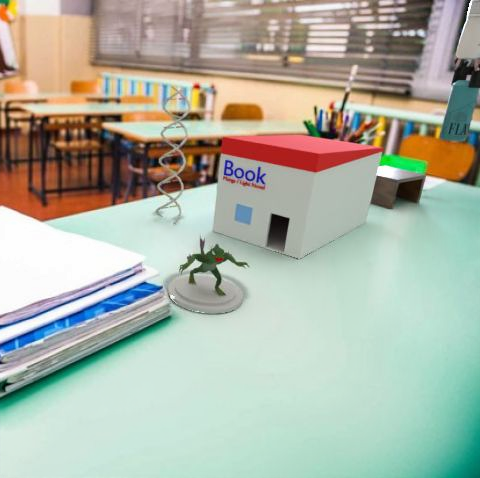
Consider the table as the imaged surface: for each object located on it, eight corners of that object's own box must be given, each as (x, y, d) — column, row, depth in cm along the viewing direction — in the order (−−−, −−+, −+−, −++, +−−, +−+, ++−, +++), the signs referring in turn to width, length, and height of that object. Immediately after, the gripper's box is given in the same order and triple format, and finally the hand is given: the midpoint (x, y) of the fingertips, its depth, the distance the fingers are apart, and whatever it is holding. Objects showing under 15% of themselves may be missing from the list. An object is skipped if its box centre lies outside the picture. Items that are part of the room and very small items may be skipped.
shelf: (419, 202, 137) (426, 174, 134) (390, 209, 130) (397, 179, 128) (378, 192, 147) (385, 165, 144) (349, 197, 140) (355, 169, 137)
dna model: (186, 224, 113) (198, 88, 102) (161, 226, 111) (171, 88, 100) (173, 215, 119) (183, 85, 108) (149, 217, 117) (157, 85, 106)
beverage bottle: (441, 146, 130) (462, 66, 123) (432, 142, 136) (452, 65, 129) (469, 148, 129) (492, 67, 121) (459, 143, 135) (480, 66, 127)
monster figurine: (181, 317, 74) (187, 254, 70) (159, 281, 85) (163, 225, 81) (255, 311, 76) (264, 250, 72) (224, 277, 87) (231, 223, 83)
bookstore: (211, 231, 109) (221, 136, 102) (287, 202, 133) (300, 124, 125) (299, 260, 96) (318, 153, 88) (366, 222, 119) (386, 136, 111)
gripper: (527, 8, 112) (503, 89, 119) (479, 13, 128) (460, 85, 135) (494, 7, 113) (471, 88, 119) (450, 12, 129) (432, 84, 135)
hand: (466, 86), depth 127 cm, fingers closed on beverage bottle, 6 cm apart
